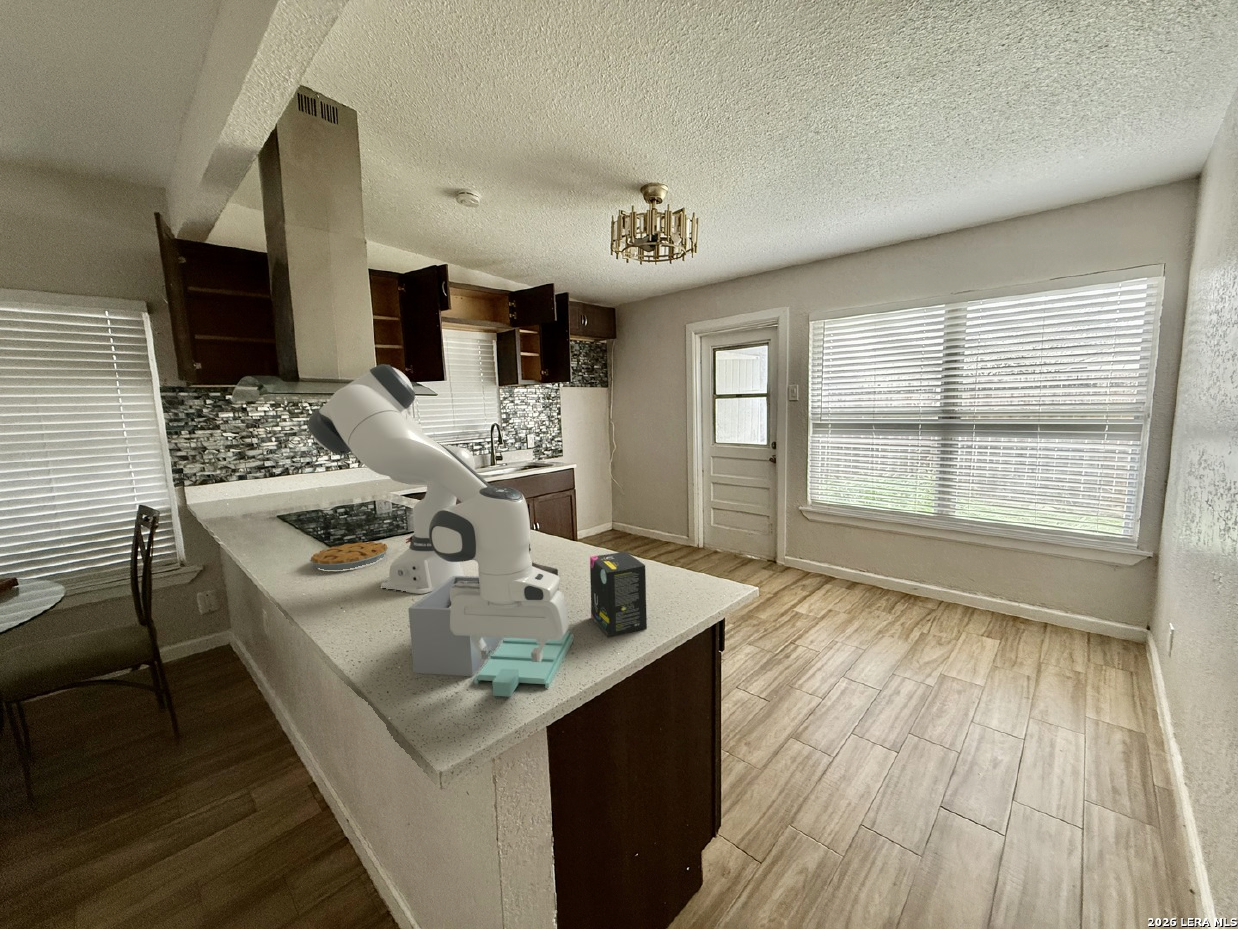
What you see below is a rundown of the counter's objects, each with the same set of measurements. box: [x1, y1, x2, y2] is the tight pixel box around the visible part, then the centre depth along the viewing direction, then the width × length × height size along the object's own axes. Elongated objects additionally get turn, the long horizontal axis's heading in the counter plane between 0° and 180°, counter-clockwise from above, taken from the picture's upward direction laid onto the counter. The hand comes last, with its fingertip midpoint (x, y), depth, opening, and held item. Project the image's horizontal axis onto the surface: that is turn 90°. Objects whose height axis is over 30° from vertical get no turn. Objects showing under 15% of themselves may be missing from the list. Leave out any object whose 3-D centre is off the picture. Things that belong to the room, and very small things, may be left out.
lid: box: [473, 630, 574, 697], centre depth 86 cm, size 14×21×3 cm, turn 172°
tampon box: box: [589, 551, 648, 638], centre depth 102 cm, size 11×9×15 cm
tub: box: [408, 575, 504, 677], centre depth 92 cm, size 12×17×12 cm
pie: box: [309, 541, 389, 570], centre depth 151 cm, size 22×22×5 cm
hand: (511, 659), depth 80 cm, fingers open, 8 cm apart
